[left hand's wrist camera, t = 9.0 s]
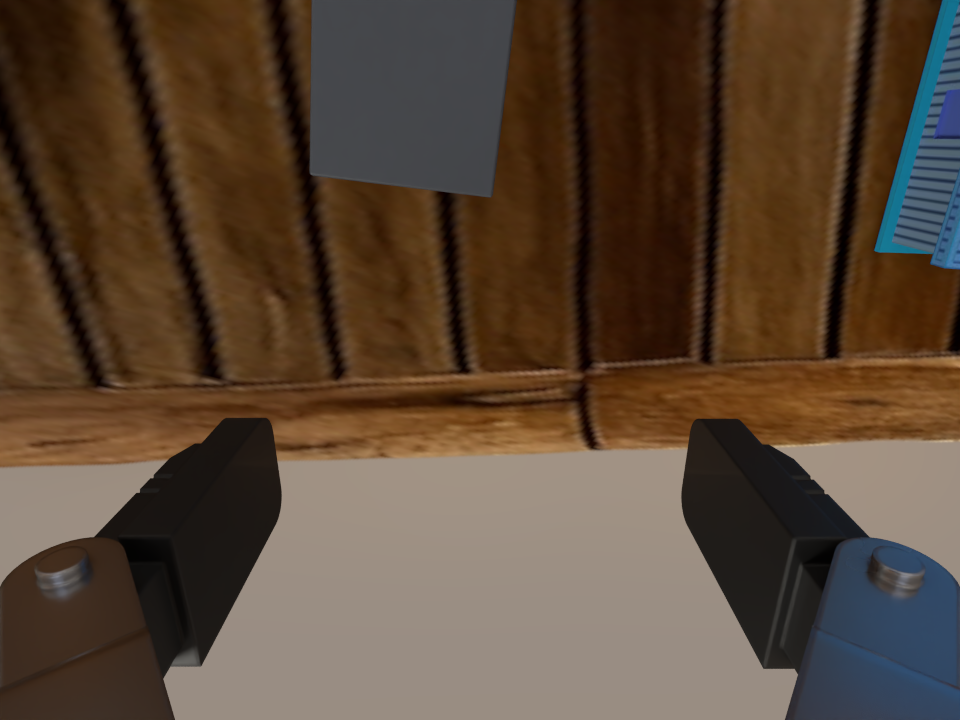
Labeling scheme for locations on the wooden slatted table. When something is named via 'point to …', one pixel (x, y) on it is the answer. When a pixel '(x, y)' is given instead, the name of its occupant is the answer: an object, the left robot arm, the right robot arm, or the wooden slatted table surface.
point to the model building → (930, 157)
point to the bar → (409, 91)
